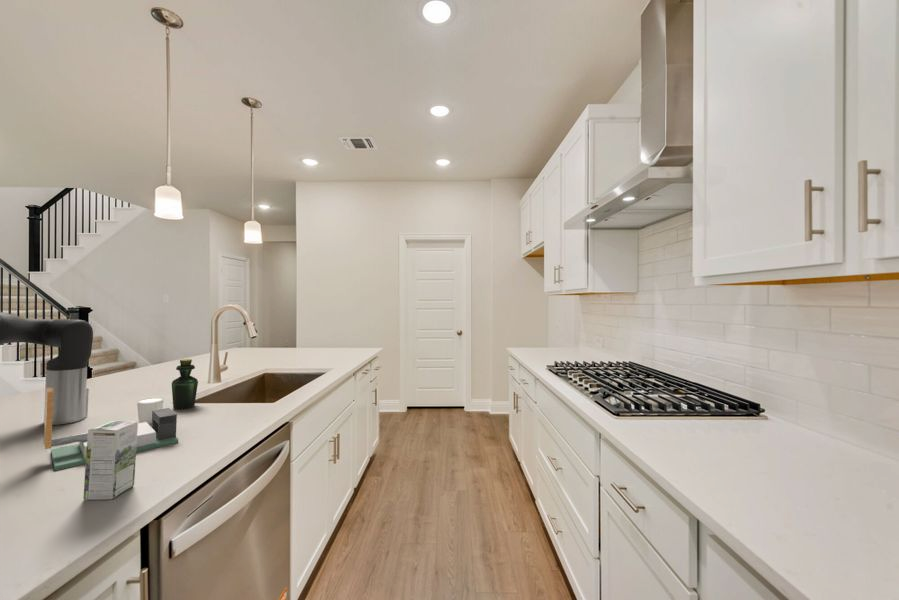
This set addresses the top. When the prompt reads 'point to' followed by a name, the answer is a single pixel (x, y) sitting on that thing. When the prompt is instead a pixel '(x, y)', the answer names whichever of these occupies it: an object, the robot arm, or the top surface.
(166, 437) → the heatsink board
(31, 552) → the top surface
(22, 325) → the robot arm
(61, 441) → the wooden l-shaped piece
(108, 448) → the syrup box
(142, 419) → the white cup
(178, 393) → the potion bottle
